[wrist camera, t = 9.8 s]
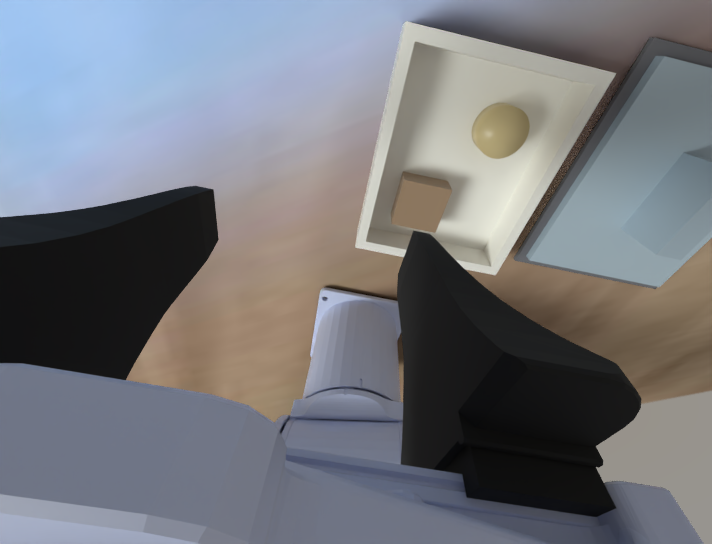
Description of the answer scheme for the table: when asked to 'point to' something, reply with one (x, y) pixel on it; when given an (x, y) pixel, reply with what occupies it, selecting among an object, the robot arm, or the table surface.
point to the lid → (642, 184)
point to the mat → (626, 88)
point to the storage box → (470, 143)
